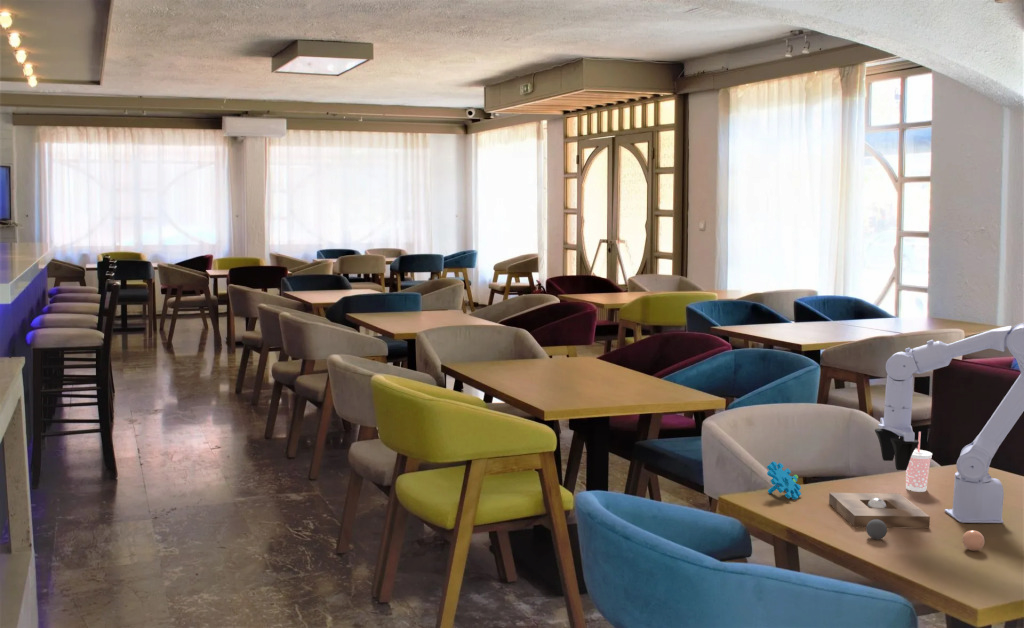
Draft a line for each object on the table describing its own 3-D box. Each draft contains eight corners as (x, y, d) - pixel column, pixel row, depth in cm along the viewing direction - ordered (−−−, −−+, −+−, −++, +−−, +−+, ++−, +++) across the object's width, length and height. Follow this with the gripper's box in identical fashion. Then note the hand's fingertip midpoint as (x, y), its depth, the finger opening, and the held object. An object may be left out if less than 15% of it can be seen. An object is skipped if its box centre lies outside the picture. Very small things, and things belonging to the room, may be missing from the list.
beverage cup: (900, 484, 240) (903, 428, 238) (926, 486, 238) (930, 429, 237) (905, 491, 234) (908, 434, 232) (932, 493, 233) (936, 435, 231)
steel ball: (886, 498, 217) (893, 511, 214) (872, 508, 219) (879, 522, 215) (874, 491, 215) (881, 505, 212) (860, 502, 217) (867, 516, 214)
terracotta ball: (977, 546, 197) (979, 527, 197) (987, 553, 193) (989, 534, 193) (958, 546, 197) (959, 527, 197) (967, 553, 193) (968, 534, 193)
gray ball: (881, 535, 203) (883, 516, 203) (889, 542, 199) (890, 523, 199) (862, 535, 203) (863, 516, 203) (869, 542, 199) (871, 522, 199)
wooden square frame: (898, 504, 224) (899, 493, 224) (929, 527, 208) (930, 516, 208) (828, 503, 224) (829, 492, 224) (854, 527, 208) (854, 515, 208)
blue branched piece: (787, 498, 222) (764, 460, 227) (769, 511, 225) (746, 474, 230) (812, 495, 230) (789, 458, 235) (794, 508, 233) (771, 472, 238)
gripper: (868, 398, 227) (864, 456, 229) (893, 412, 213) (889, 473, 215) (898, 399, 227) (895, 456, 229) (925, 413, 213) (921, 474, 215)
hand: (894, 465), depth 222 cm, fingers open, 7 cm apart
